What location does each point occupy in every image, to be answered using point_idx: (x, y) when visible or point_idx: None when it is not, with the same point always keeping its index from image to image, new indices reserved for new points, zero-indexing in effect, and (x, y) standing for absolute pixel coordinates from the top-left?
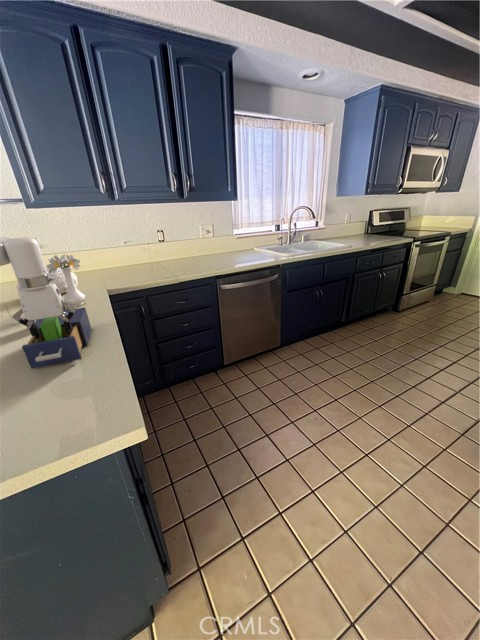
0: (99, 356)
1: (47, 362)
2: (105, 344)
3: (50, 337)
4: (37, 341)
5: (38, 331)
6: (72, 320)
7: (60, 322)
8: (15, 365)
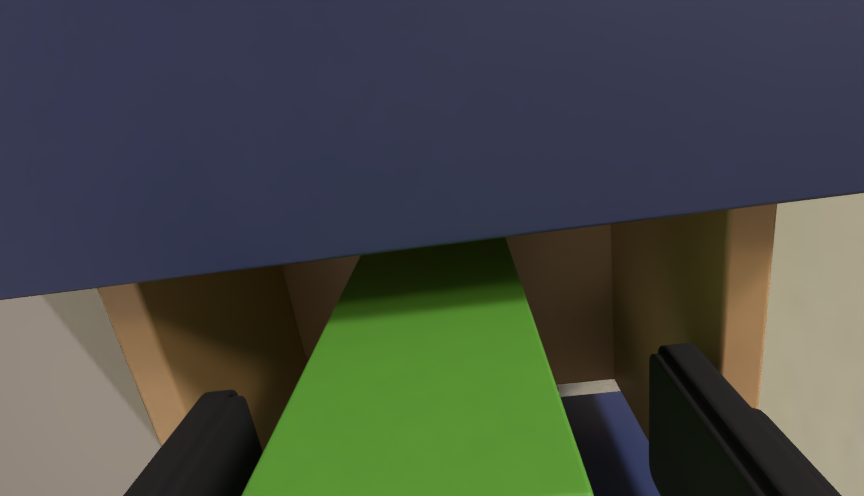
0: (773, 362)
1: None
2: None
3: None
4: (230, 360)
5: (220, 467)
6: (746, 43)
7: (466, 95)
8: None
